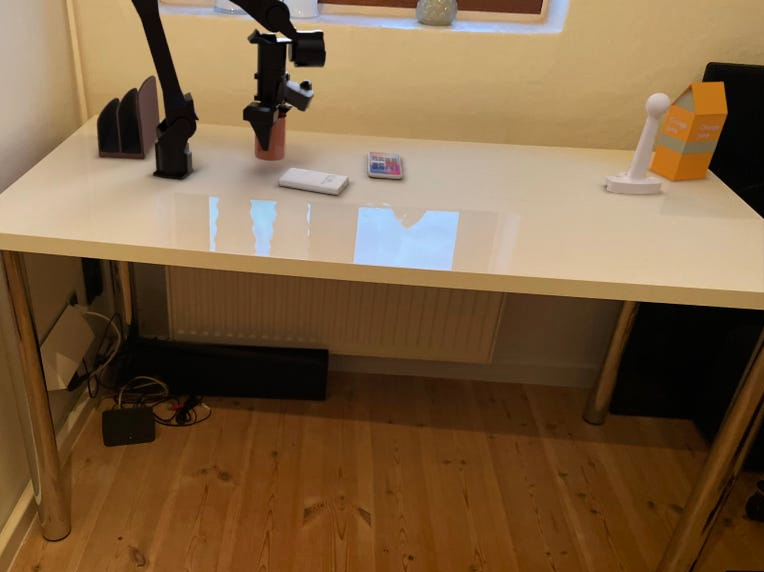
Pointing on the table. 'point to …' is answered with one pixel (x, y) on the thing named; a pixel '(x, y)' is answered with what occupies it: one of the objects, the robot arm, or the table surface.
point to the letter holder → (129, 123)
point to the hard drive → (314, 181)
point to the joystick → (642, 154)
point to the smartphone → (384, 165)
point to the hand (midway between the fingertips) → (270, 146)
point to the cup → (274, 141)
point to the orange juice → (691, 132)
